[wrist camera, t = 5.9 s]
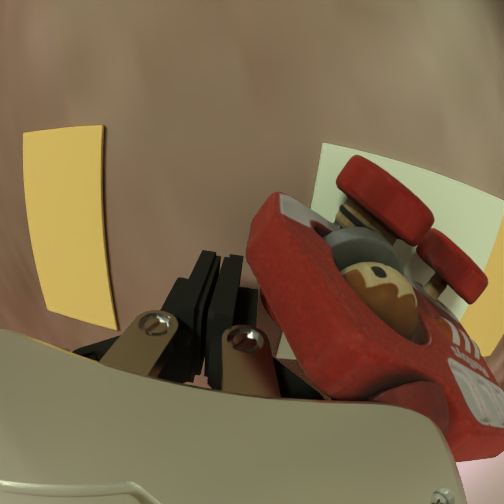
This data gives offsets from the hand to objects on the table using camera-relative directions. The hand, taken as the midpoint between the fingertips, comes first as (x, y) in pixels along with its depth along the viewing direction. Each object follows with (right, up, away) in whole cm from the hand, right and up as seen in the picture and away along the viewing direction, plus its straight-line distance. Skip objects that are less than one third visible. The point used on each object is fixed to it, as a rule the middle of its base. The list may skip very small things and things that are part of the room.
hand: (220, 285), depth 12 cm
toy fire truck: (+7, +1, +2) cm, 7 cm away
